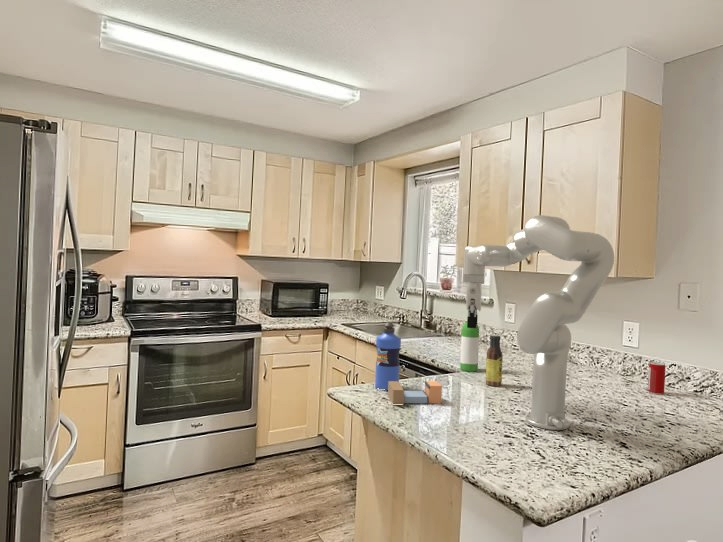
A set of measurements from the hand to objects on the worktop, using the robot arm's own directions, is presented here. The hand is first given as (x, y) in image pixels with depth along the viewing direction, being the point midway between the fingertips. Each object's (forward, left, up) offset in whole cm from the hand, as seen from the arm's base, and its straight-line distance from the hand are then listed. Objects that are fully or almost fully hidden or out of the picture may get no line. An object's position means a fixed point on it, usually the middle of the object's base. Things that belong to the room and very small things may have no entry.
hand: (472, 326), depth 167 cm
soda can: (+4, -77, -26) cm, 81 cm away
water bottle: (+9, +29, -26) cm, 40 cm away
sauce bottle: (+14, -15, -26) cm, 33 cm away
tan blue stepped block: (-7, +24, -25) cm, 36 cm away
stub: (-7, +16, -25) cm, 31 cm away
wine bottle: (+38, -13, -26) cm, 47 cm away
